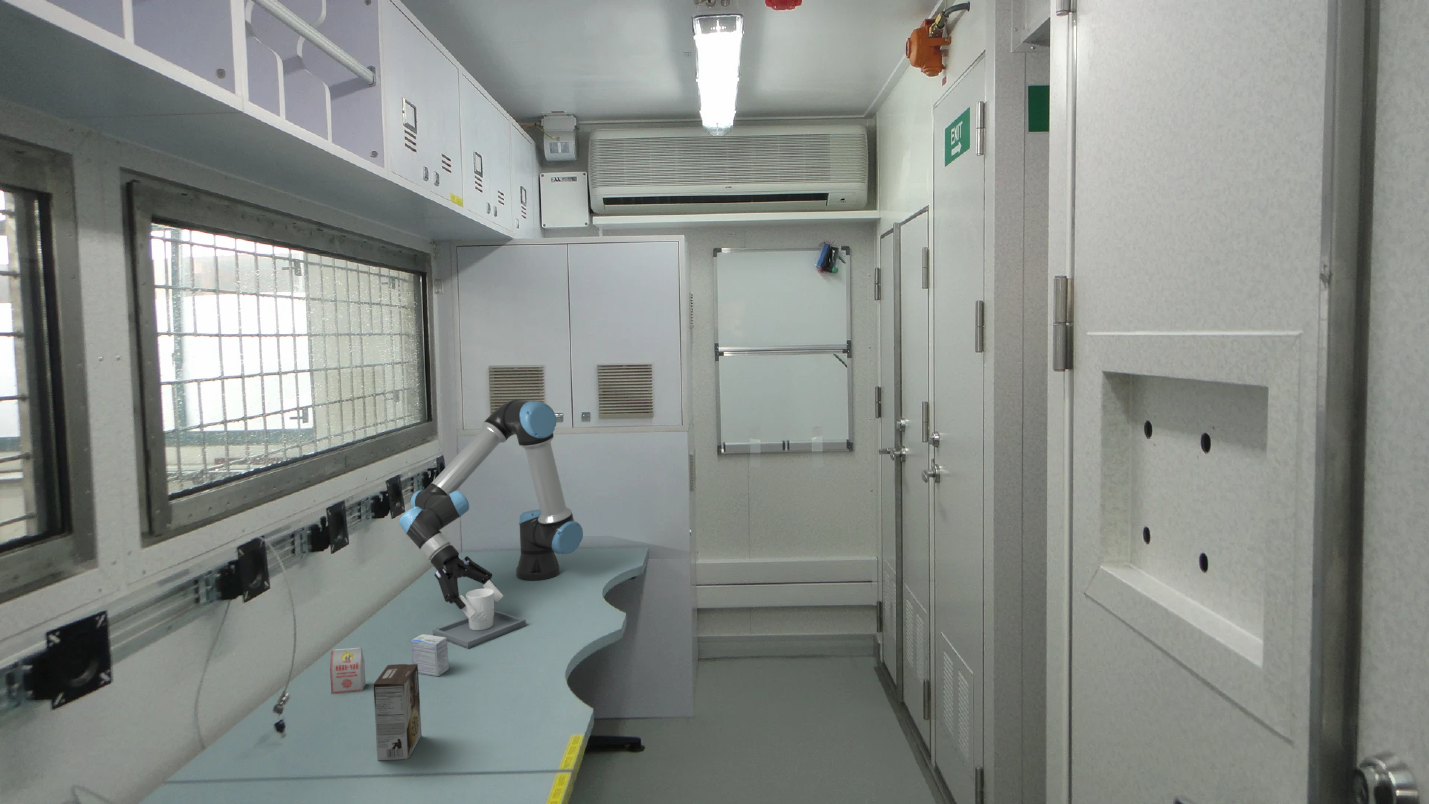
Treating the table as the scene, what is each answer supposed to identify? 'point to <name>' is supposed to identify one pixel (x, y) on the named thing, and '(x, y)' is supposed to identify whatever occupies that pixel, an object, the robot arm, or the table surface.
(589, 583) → the table surface
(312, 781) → the table surface
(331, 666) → the white paper packet
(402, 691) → the coffee box
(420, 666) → the medicine box
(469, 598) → the white cup
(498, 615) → the tray
